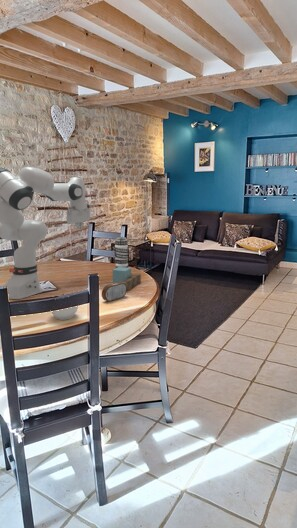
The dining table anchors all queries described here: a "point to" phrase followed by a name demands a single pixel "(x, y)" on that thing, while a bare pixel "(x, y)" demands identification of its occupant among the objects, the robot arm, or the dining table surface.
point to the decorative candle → (121, 252)
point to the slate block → (121, 274)
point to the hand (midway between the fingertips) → (79, 230)
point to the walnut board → (132, 281)
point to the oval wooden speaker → (114, 291)
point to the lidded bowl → (64, 311)
